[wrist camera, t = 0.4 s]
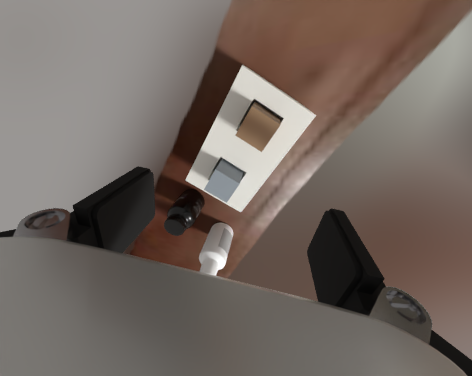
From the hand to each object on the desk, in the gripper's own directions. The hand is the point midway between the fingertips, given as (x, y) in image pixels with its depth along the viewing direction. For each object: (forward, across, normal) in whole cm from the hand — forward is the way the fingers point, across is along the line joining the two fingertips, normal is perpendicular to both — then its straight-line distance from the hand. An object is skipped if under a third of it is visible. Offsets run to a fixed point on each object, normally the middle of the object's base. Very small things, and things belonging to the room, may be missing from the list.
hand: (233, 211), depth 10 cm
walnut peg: (+28, 0, 0) cm, 28 cm away
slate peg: (+29, +4, +11) cm, 31 cm away
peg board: (+34, +2, +5) cm, 35 cm away
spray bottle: (+36, +4, +33) cm, 49 cm away
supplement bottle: (+36, +14, +24) cm, 45 cm away
